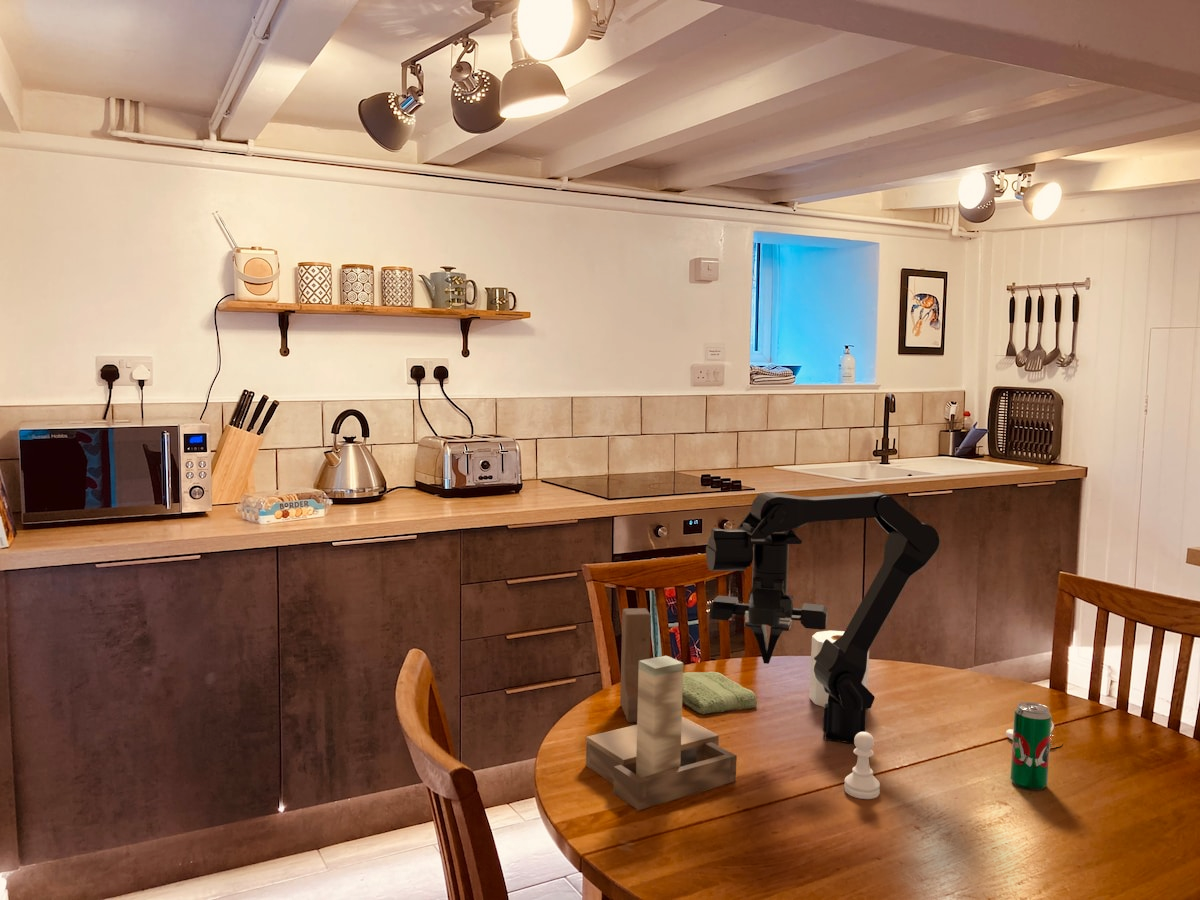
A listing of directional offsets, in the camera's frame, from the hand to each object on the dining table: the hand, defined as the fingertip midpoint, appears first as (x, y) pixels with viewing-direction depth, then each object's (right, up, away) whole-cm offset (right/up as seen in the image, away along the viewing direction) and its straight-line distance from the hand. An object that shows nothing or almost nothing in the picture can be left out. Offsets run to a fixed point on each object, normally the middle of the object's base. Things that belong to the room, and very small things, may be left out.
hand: (766, 663), depth 155 cm
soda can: (+37, -15, -14) cm, 42 cm away
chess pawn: (+11, -15, -18) cm, 26 cm away
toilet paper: (+17, -12, +20) cm, 29 cm away
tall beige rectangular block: (-19, -14, -19) cm, 30 cm away
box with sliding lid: (-18, -14, -13) cm, 26 cm away
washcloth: (-7, -12, +21) cm, 25 cm away
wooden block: (-21, -12, +12) cm, 27 cm away
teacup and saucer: (+44, -14, +6) cm, 47 cm away
